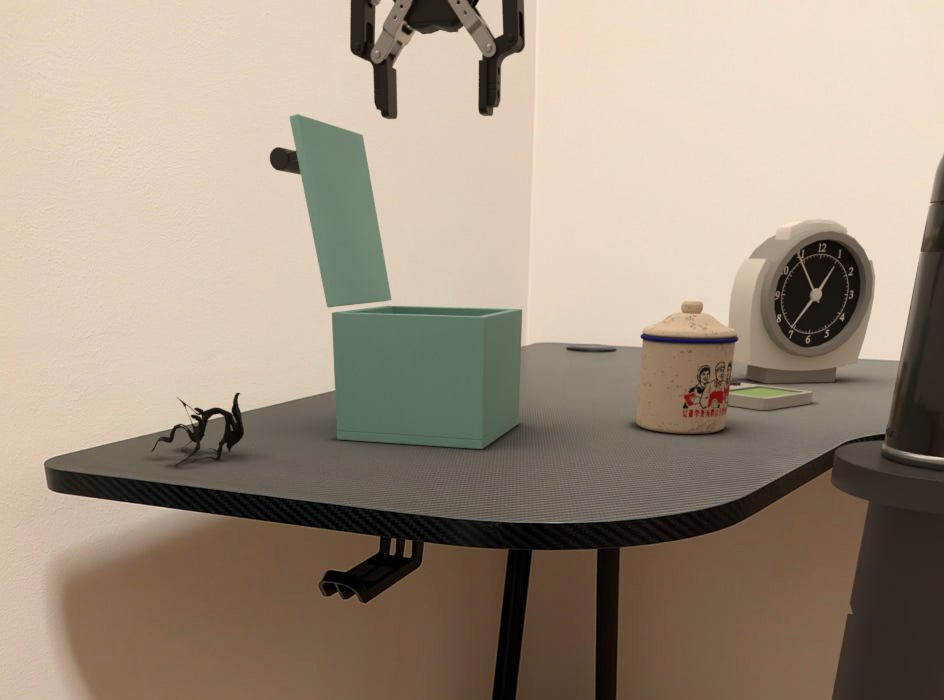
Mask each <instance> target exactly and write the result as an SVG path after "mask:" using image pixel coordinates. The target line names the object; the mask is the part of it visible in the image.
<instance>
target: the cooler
mask: <svg viewBox="0 0 944 700" xmlns="http://www.w3.org/2000/svg"><path fill="white" fill-rule="evenodd" d="M331 327H332V351H333V372H334V393H335V394H334V396H335V417H336V418H335V421H336V422H335V423H336V439H337V440H338V441H339V440H340V441H353V442H369V443H381V444H382V443H384V444H398V445H412V446H427V447H440V448H441V447H442V448H456V449H473V450H484V449H485V448H486V447H487V446H489V445H490V444H492V443H493V442H495V441H496V440H498V439H499V438H500V437H502V436H504V435H505V434H506V433H507V432H509V431H510V430H512V429H514V428H515V427H516V426H518V425H519V422H520V421H519V418H520V417H519V415H520V389H521V359H522V358H521V357H522V330H523V309H522V308H499V307H498V308H497V307H495V308H494V307H493V308H492V307H458V306H457V307H454V306H419V305H418V306H417V305H416V306H415V305H382V306H374V307H367V308H360V309H359V308H358V309H351V310H341V311H333V312H331Z"/></svg>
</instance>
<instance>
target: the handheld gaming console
mask: <svg viewBox="0 0 944 700" xmlns="http://www.w3.org/2000/svg"><path fill="white" fill-rule="evenodd" d="M813 394H814V392H813V390H812V391H811V390H810V391H809V390H806V389H805V390H804V389H796V388H787V387H781V386H780V387H779V386H771V385H764V384H757V383H756V384H755V383H748V382H747V383H746V382H740V381H738V380H737V379H731V381H730V389H729V397H728V406H729V407H731V406H732V407H736V408H744V409H750V410H758V411H770V410H771V411H772V410H777V409H783V408H791V407H796V406H802V405H809V404H812V400H813Z"/></svg>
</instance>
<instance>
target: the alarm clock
mask: <svg viewBox="0 0 944 700" xmlns="http://www.w3.org/2000/svg"><path fill="white" fill-rule="evenodd" d="M875 286H876V273H875V269H874V263H873V259H869V257H868V255H867V253H866V250H865V248H864V247H863V246H862V244H860V243H859V241H858V240H857V239H856V238H855V237H853V236H852V235H850V234H849V233H848V229H847V227H846V226H844V225H842V224H841V223H839V222H837V221H836V220H831V219H823V218H818V219H801V220H798V219H797V220H791V221H789V222H787V223H785V224H782V225H781V226H778V227H777V229H776V231H775V234H774V235H773V236H770V237H768V238H767V239H765V240H764V241H763V242H762V243H761V244H759V245H758V246H757V247H756V248H755V249H754V250H753V251H752V253H751V254H750V256H749V257H748V258H743V259H742V261H741V262H740V265H739V267H738V269H737V271H736V273H735V275H734V279H733V284H732V288H731V293H730V299H729V309H728V310H729V311H728V327H730V328H732V329H735V330H736V332H737V337H738V341H737V342H735V348H734V356H733V363H739V364H744V365H747V368H746V375H745V379H747V380H751V381H755V382H758V383H763V384H794V383H795V384H797V383H798V384H799V383H801V384H802V383H834V382H835V379H836V374H837V369H838V368H841V367H846V366H850V365H854V364H857V362H858V360H859V356H860V354H861V351H862V349H863V348H862V347H863V344H864V341H865V338H866V335H867V330H868V326H869V322H870V319H871V314H872V309H873V304H874V299H875V289H876V287H875Z"/></svg>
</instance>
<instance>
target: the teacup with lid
mask: <svg viewBox="0 0 944 700" xmlns="http://www.w3.org/2000/svg"><path fill="white" fill-rule="evenodd" d="M703 310H704V304H703V302H702V301H700V300H698V301H697V300H685V301H683V302H682V303H681V305H680V311H681V312H676V313H672V314H670V315H668V316H667V317H665V318H664V319H662V320H661V321H659V322H657V323H653V324H651V325H648V326H646V327H644V328H643V329H642V330H641V331H642V333H641V334H640V339H641V340H642V346H641V355H640V357H641V358H640V370H639V381H638V393H637V403H636V404H637V405H636V417H635V423H636V425H637V426H638V427H640V428H642V429H645V430H648V431H653V432H659V433H665V434H666V433H668V434H683V435H700V434H701V435H703V434H712V433H717V432H720V431H721V430H723V429H724V428H725V427H726V420H727V413H728V406H729V405H728V397H729V389H730V381H731V380H732V371H733V364H734V361H733V356H734V348H735V342H737V341H738V337H737V332H736V330H735V329H732V328H730V327H729V326H727V325H725V324H723V323H721V322H720V321H719V320H718V319H717V318H715V317H714V316H713V315H711V314H709V313H704V312H703Z"/></svg>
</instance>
